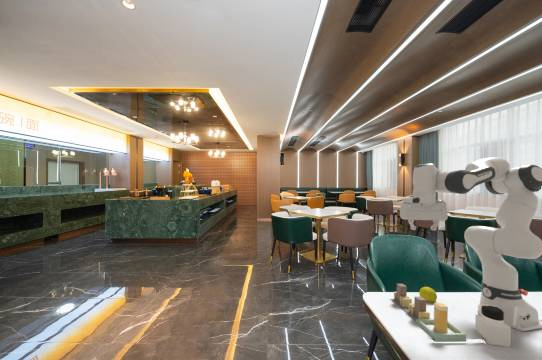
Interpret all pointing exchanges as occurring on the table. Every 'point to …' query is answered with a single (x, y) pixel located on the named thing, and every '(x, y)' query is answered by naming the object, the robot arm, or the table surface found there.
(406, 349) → the table surface
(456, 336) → the tray
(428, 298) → the tennis ball
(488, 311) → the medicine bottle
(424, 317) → the holder
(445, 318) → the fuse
